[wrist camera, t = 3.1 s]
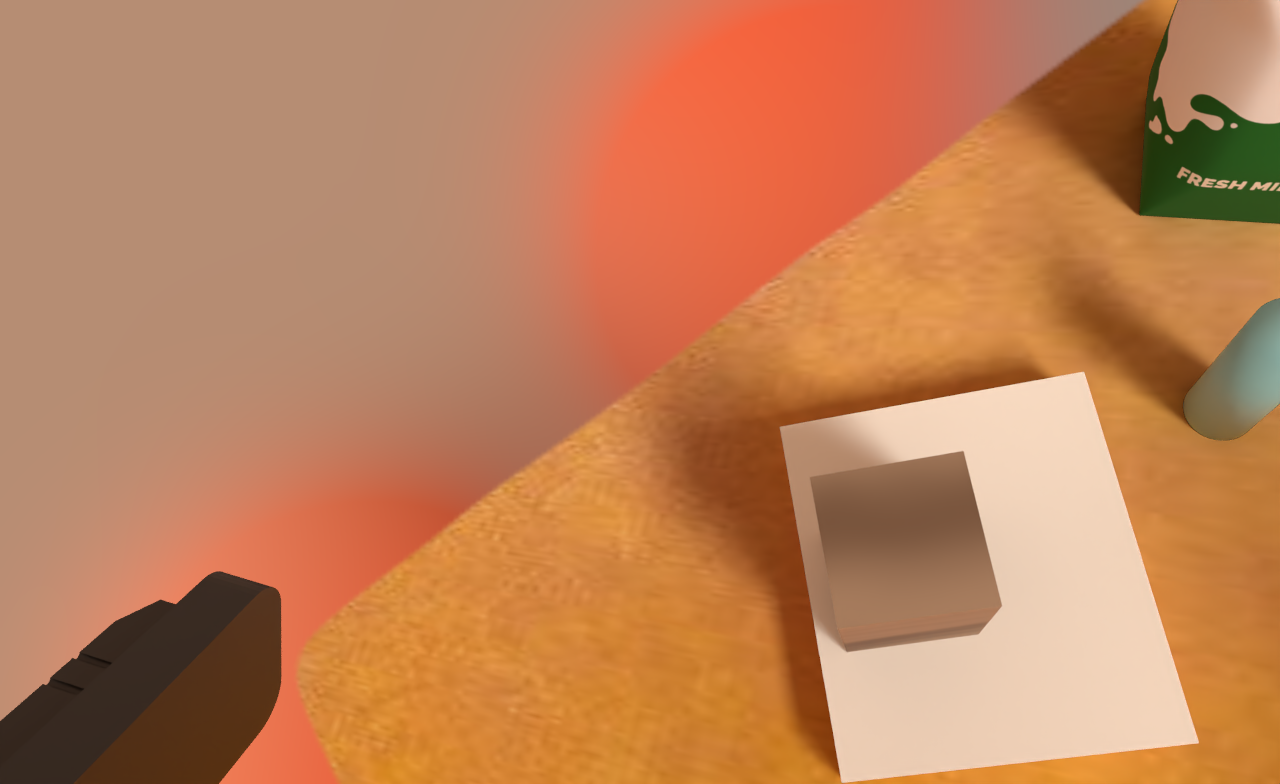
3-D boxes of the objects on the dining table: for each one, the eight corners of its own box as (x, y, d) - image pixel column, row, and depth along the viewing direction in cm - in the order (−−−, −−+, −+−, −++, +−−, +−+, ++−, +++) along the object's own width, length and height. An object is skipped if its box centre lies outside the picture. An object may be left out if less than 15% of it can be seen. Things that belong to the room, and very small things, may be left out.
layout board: (1177, 743, 40) (1199, 743, 37) (844, 780, 43) (841, 782, 40) (1072, 393, 46) (1083, 371, 43) (785, 444, 49) (779, 426, 46)
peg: (1265, 434, 43) (1353, 361, 35) (1194, 445, 44) (1266, 376, 36) (1242, 374, 44) (1323, 289, 36) (1174, 386, 45) (1238, 305, 37)
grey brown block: (978, 634, 41) (1002, 605, 32) (846, 652, 42) (837, 628, 33) (948, 507, 43) (963, 450, 34) (823, 527, 44) (809, 477, 35)
